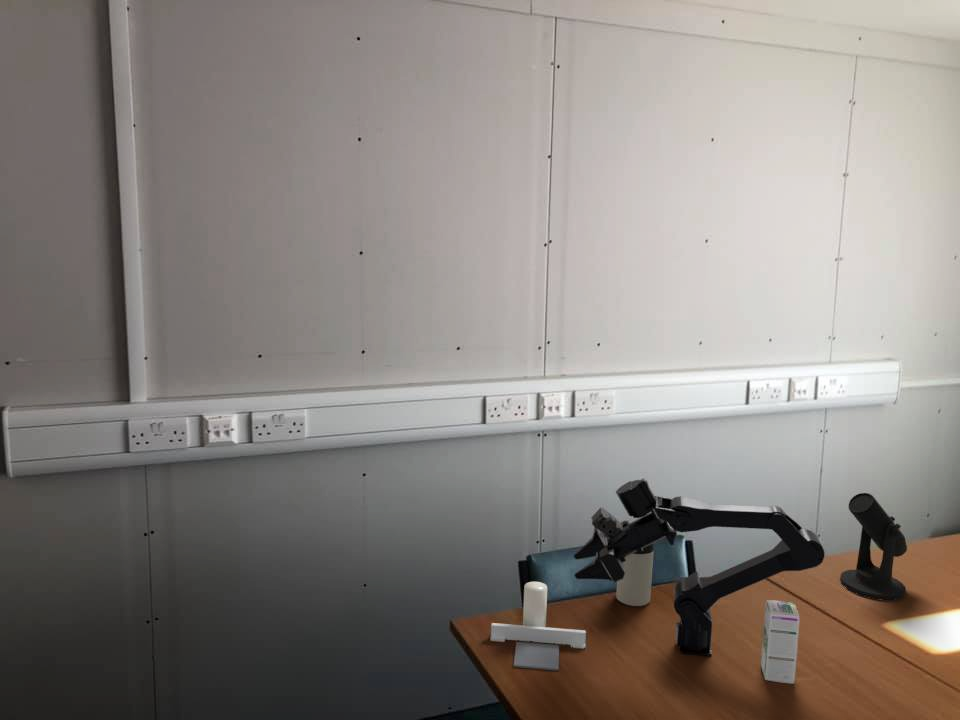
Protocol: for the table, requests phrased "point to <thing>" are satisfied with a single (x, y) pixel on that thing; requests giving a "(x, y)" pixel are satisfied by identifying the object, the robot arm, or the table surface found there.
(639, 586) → the travel mug
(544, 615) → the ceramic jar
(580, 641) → the light grey long bar
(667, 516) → the robot arm
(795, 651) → the syrup box
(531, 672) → the table surface
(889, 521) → the microphone
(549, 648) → the slate mat
